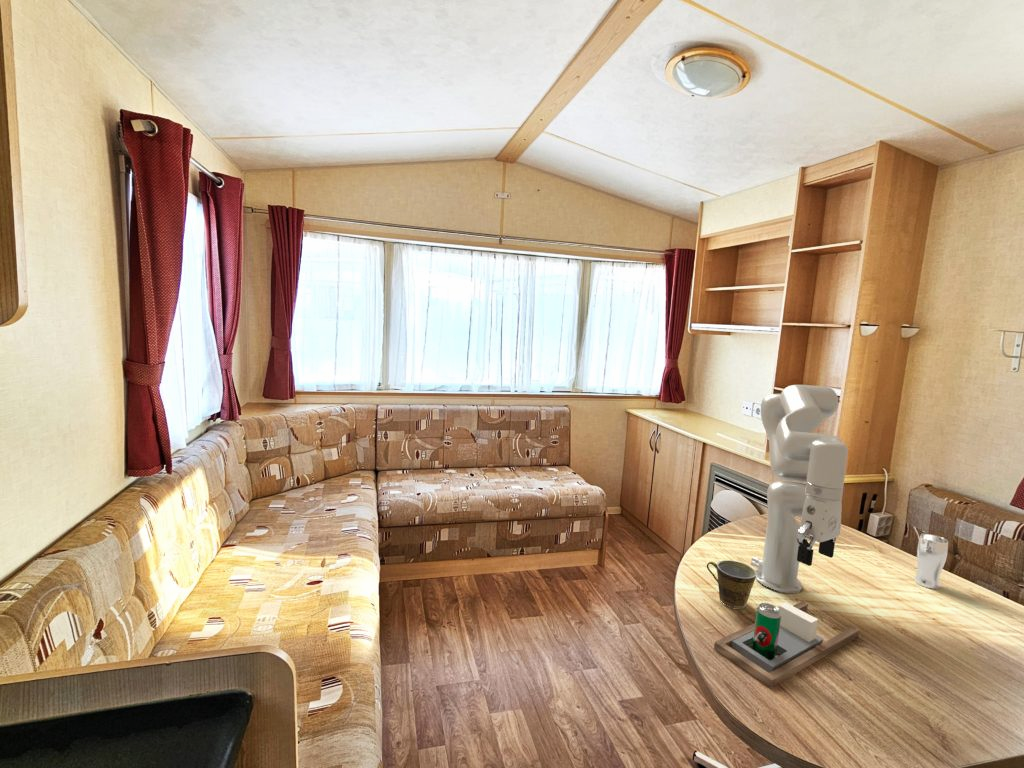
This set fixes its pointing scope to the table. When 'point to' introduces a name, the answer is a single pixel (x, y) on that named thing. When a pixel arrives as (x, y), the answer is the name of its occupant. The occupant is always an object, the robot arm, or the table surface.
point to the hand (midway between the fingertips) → (815, 559)
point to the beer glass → (930, 560)
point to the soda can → (766, 630)
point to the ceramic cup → (734, 582)
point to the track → (788, 668)
